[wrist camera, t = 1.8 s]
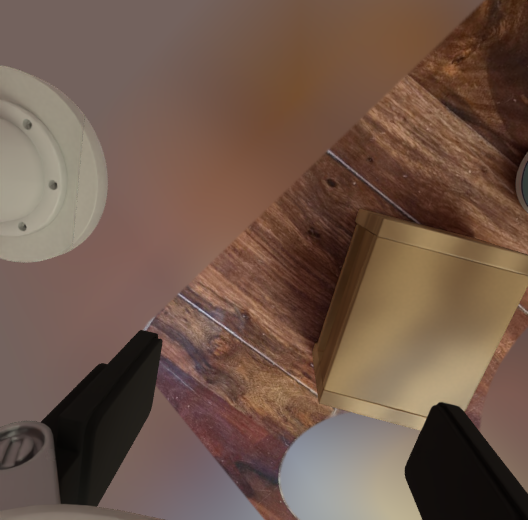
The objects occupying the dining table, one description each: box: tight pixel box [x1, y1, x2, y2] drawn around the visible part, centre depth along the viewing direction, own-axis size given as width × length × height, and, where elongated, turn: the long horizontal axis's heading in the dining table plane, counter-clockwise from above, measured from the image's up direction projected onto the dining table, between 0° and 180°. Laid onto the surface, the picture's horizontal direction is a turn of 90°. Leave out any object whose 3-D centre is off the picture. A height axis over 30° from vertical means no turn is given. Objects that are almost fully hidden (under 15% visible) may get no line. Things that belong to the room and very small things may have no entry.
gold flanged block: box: [312, 209, 528, 430], centre depth 25 cm, size 10×14×7 cm
